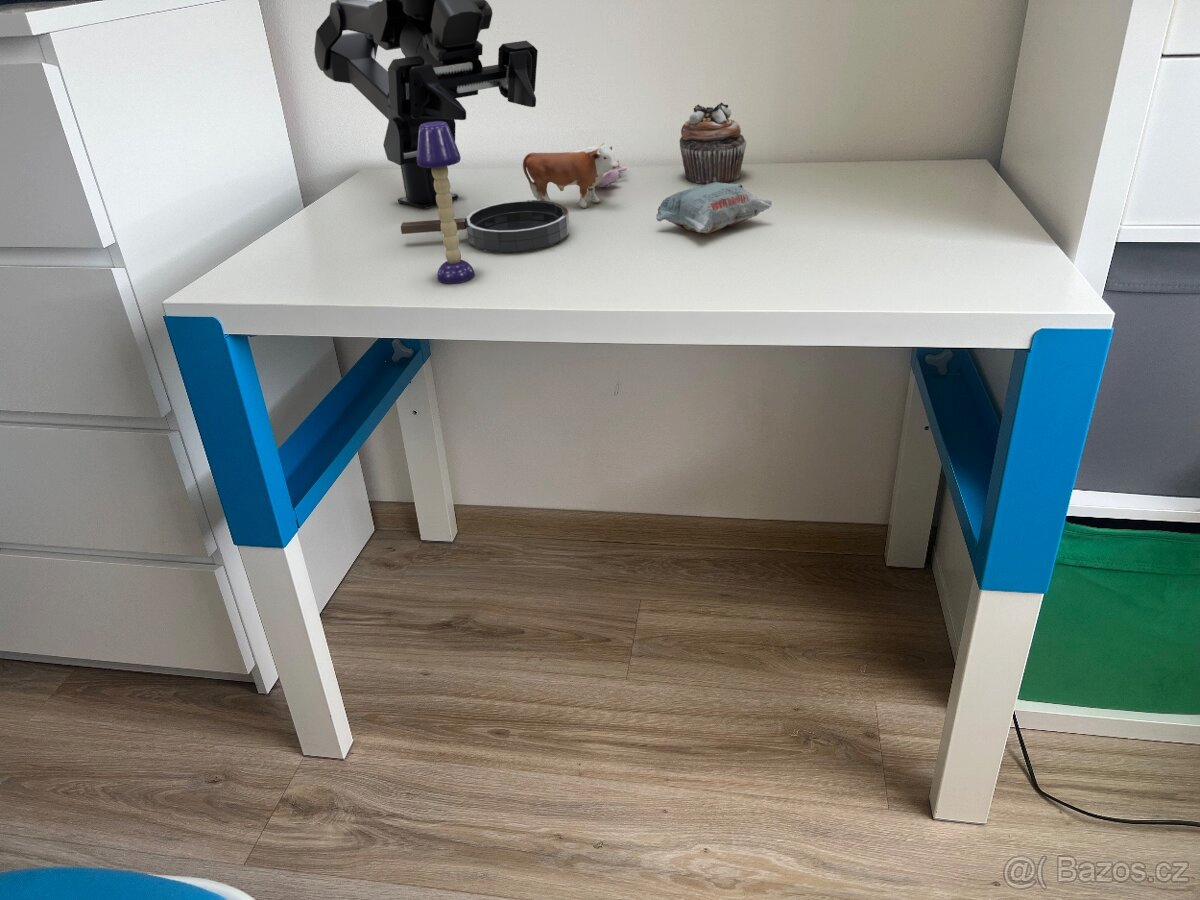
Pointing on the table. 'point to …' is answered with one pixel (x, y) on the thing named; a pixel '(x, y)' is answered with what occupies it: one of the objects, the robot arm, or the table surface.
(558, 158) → the bull figurine
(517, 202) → the pan
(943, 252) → the table surface
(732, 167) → the cupcake
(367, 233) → the table surface
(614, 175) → the rabbit figure
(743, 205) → the packaged food
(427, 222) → the pan handle
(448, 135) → the toy lamp
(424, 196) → the robot arm
